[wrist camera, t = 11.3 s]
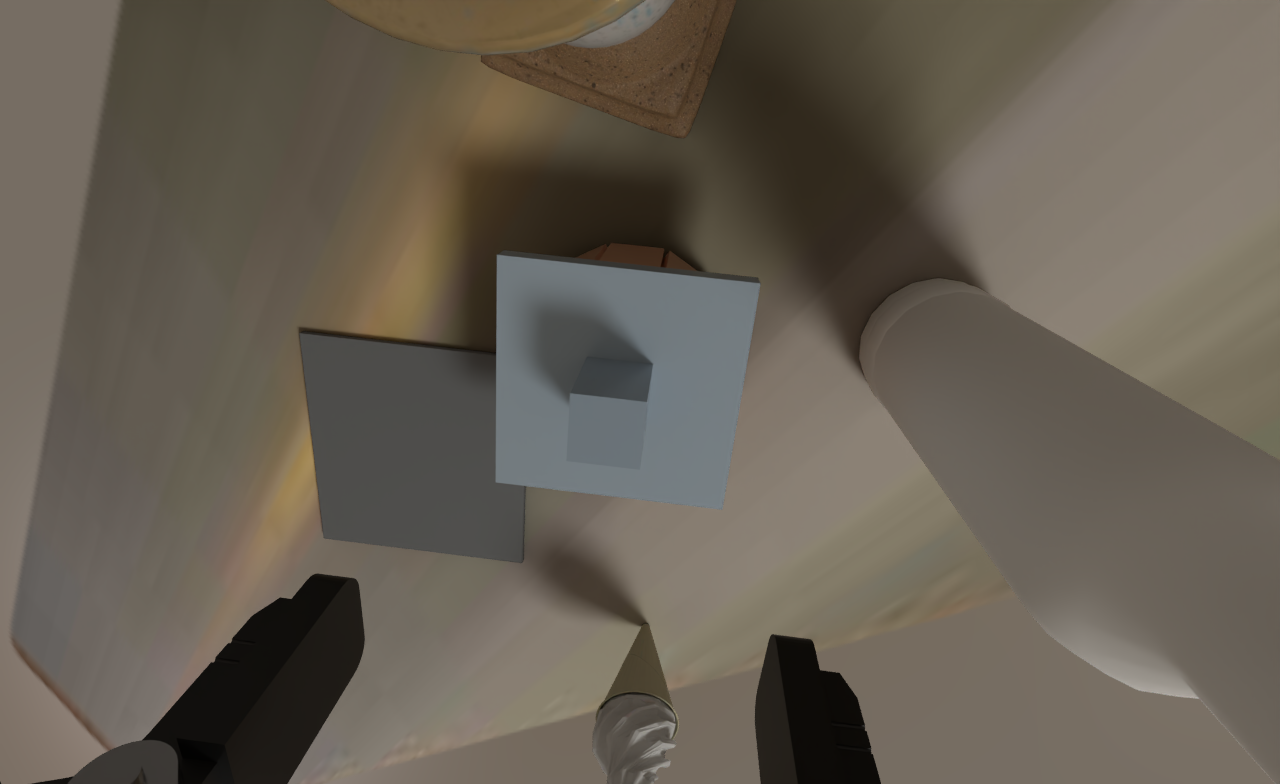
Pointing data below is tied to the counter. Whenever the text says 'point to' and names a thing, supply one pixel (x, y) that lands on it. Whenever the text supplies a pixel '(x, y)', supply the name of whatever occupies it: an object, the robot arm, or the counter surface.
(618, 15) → the candle holder
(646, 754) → the ice cream cone
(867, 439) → the counter surface
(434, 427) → the mat
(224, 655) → the robot arm
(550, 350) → the lid
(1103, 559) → the bottle
